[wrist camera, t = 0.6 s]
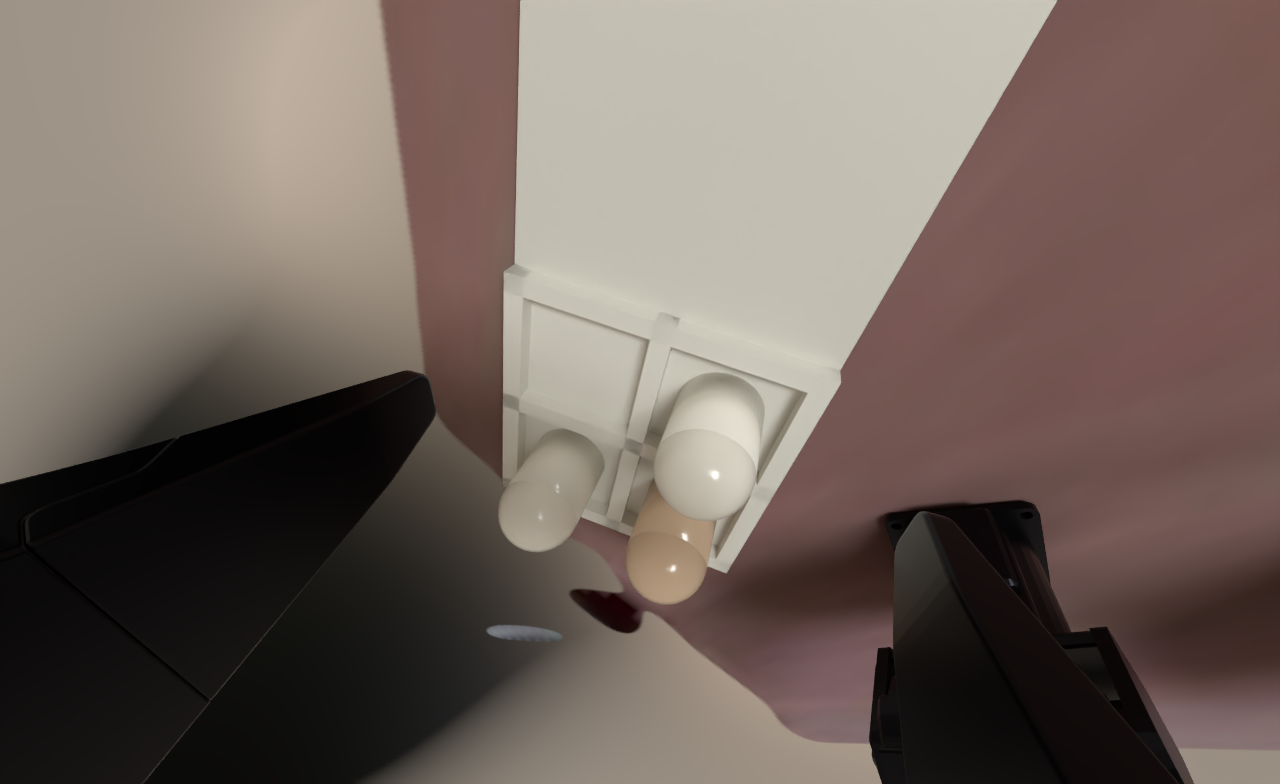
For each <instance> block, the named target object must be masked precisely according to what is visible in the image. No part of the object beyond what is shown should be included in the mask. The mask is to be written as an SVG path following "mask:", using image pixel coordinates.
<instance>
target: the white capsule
mask: <svg viewBox="0 0 1280 784" xmlns="http://www.w3.org/2000/svg"><path fill="white" fill-rule="evenodd" d="M604 468H605V461H604V457H603V455H602V453H601V451H600V450H599V448H598V447H597V446H596V445H595V444H594V443H593V442H592V441H591V440H590V439H588V438H587V437H585V436H584V435H582V434H579V433H576V432H573V431H571V430H568V429H554V430H551V431H549V432H547V433H545V434H544V435H543V437H542V438H541V439H540V441H539V442H538V444H537V445H536V446H535V448H534V449H533V451H532V452H531V453H530V455H529V456H528V458H527V459H526V460H525V462H524V463H523V465H522V466H521V468H520V469H519V470H518V472H517V473H516V475H515V476H514V477H513V479H512V480H511V482H510V483H509V484H508V486H507V487H506V489H505V491H504V492H503V494H502V496H501V499H500V502H499V506H498V519H499V524H500V527H501V529H502V531H503V533H504V535H505V536H506V537H507V539H508V540H509V541H510V542H511V543H512V544H514V545H515V546H517V547H518V548H520V549H523V550H526V551H531V552H543V551H547V550H550V549H553V548H555V547H557V546H559V545H560V544H562V543H563V542H564V541H565V540H567V539H568V537H569V536H570V535H571V534H572V532H573V531H574V529H575V527H576V525H577V523H578V521H579V519H580V517H581V515H582V513H583V511H584V509H585V507H586V505H587V503H588V501H589V499H590V497H591V495H592V493H593V491H594V489H595V487H596V485H597V483H598V481H599V479H600V477H601V475H602V473H603V471H604Z"/></svg>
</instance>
